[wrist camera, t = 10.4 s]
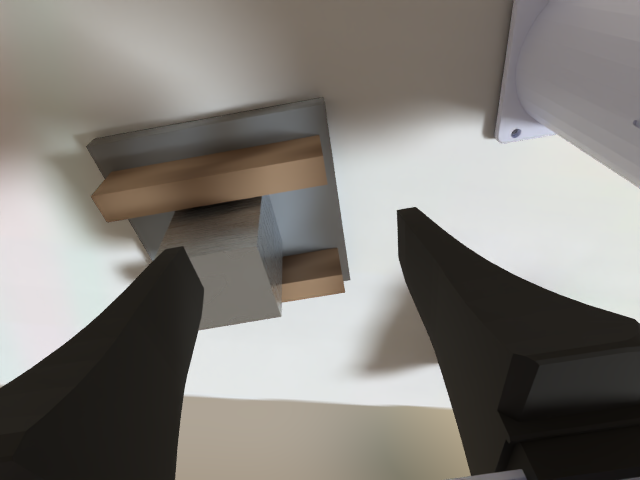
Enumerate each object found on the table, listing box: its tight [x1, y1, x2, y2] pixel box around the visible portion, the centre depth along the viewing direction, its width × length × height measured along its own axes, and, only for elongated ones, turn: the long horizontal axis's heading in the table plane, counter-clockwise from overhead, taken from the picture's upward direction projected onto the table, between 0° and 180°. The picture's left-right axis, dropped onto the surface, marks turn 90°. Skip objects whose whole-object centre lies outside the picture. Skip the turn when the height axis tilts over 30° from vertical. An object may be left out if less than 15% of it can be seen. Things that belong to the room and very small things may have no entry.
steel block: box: [153, 195, 283, 330], centre depth 19 cm, size 4×4×6 cm
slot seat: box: [86, 98, 350, 302], centre depth 21 cm, size 12×12×4 cm
